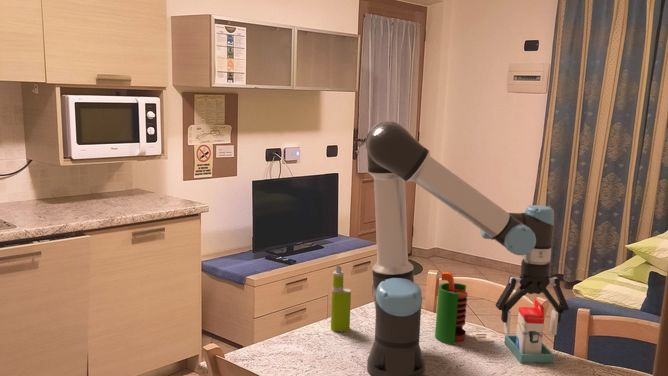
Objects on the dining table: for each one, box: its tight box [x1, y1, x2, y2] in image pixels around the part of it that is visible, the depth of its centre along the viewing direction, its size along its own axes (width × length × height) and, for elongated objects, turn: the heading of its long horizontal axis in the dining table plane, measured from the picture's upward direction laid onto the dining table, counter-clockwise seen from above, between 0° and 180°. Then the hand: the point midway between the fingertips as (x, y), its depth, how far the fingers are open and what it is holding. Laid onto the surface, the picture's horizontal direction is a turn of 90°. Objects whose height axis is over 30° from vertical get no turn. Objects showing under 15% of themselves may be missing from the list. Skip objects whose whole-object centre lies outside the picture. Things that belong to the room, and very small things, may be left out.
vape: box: [330, 265, 352, 332], centre depth 177 cm, size 4×6×20 cm, turn 92°
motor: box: [434, 271, 469, 346], centre depth 173 cm, size 10×9×20 cm
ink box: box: [515, 298, 546, 354], centre depth 164 cm, size 8×5×15 cm, turn 179°
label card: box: [471, 331, 495, 343], centre depth 175 cm, size 5×6×1 cm
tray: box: [504, 334, 555, 365], centre depth 165 cm, size 9×13×2 cm
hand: (529, 333), depth 165 cm, fingers open, 13 cm apart
